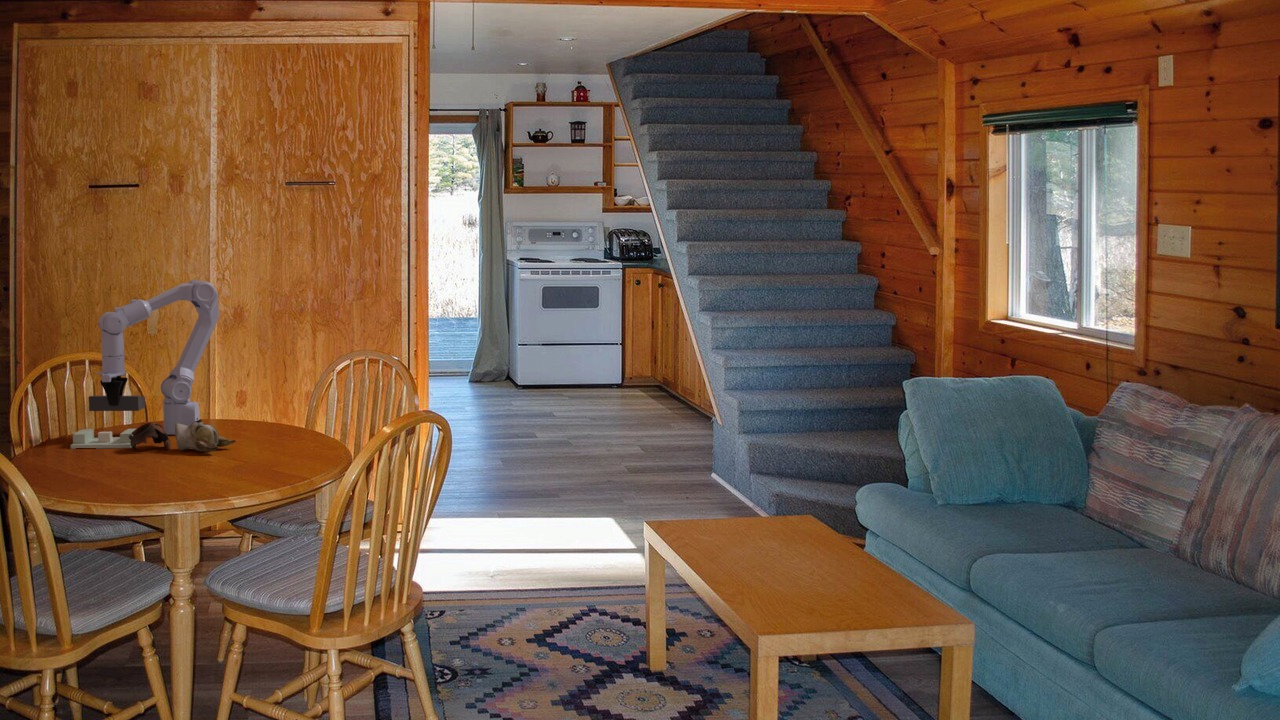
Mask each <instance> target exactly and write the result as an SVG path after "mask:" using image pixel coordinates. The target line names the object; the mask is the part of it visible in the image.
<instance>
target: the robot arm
mask: <svg viewBox="0 0 1280 720" xmlns="http://www.w3.org/2000/svg"><path fill="white" fill-rule="evenodd" d="M219 296H220V295H219V293H218V291H217V290H216V288H215V286H214V285H213V284H212V283H211V282H209V281H205V280H204V281H202V280H199V279H193V280H192V279H191V280H190V281H188V282H183V283H180V284H179V285H176V286H174V287H172V288H169V289H167V290H165V291H163V292H162V293H160V294H157V295H156V296H153V297H152V298H149V299H148V300H143V299H141V298H139V299H135V298H134V299H131V300H129V302H130V303H127V304H125V305H123V306H120V307H117V306H115V307H114V308H113V310H114V311H106V312H104V313H103V314H101V316H100V317H99V319H98V322H97V325H98V327H99V329H100V330H101V331H100V332H101V335H100V336H101V343H100V344H101V365H102V366H101V368H102V371H101V370H100V371H97V375H99V376H100V375H101V380H99V381H100V382H99V383H100V385H101V387H102V388H103V390H104V393H105V396H107V399H108V403H109V406H117V405H118V402H119V396H123V393H124V389H125V387H126V384H127V383H128V377H124V376H126V374H127V371H126V366H125V365H126V362H125V359H126V358H125V340H124V339H125V338H124V331H125V330H126V328H129V327H131V326H133V325H136V324H138V323H140V322H142V321H145V320H146V319H149V318H150V317H151V314H152V312H154V311H156V310H158V309H161V308H164V307H166V306H168V305H171V304H173V303H175V302H178V301H185V302H186V301H187V302H190V303H191V304H192V305H193V307H194V309H195V310H196V312H197V314H198V318H197V319H196V322H195V324H194V326H193V329H192V331H191V332H190V335H189V337H188V339H187V342H186V343H185V346H184V348H183V350H182V351H181V355H180V357H179V359H178V362H177V363H176V366H174V367H173V369H172V370H171V371H170V373H169V375H168V376H167V377H166V378H165V379H164V380H162V382H161V384H160V392H161V394H162V395H163V396H164V398H163V399H162V404H163V405H162V407H163V409H162V411H163V429H164V431H166V433H167V435H168V436H170V435H171V436H172V435H174V436H175V423H179V424H183V425H186V426H190V425H191V423H193V422H194V421H198V420H201V419H200V418H201V417H200V406H199V402H197V401H191V395H192V393H193V383H194V381H195V371H196V369H197V367H198V364H199V362H200V360H201V358H202V356H203V354H204V351H205V349H206V347H207V345H208V342H209V341H210V339H211V336H212V335H213V332H214V329H215V327H216V325H217V324H218V321H219V319H220V308H219ZM122 376H123V377H122Z"/></svg>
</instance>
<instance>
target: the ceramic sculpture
mask: <svg viewBox="0 0 1280 720" xmlns="http://www.w3.org/2000/svg"><path fill="white" fill-rule="evenodd" d="M174 437H175V439H176V446H177V448H178V450H179V451H187V450H189V449H192V450H195V451H197V452H201V453H203V452H204V453H211V452H213V451H217V450H219V448H221V447H223V448H224V447H228V446H230V445H233V444H234V443H235V444H236V442H237V440H234V439H231V440H229V439H227V438H225V437H224V436H221V435H219V432H218V429H216V427H215V426H214V425H212V424H205V423H204V422H203V420H202V419H200V420H198V421H194V422H193V423H191V425H190V426H186V425H183V424H179V423H175V435H174Z"/></svg>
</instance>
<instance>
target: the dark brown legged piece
mask: <svg viewBox="0 0 1280 720" xmlns="http://www.w3.org/2000/svg"><path fill="white" fill-rule="evenodd" d="M135 429H136V430H134V431H133V432H132V433H131V434H132V435H133V436H132V435H131V434H130V436H129V439H130V440H131V442H130V445H131V446H132V447H131V449H132V450H136V448H137V446H138V445H140V444H143V443H144V444H147V443H148V441H147V440H148V439H147V437H150V438H152V440H153V442H154V444H162V443H163V447H165V448H166V451H170V450H171V448H172V444H171V440H170V437H169V435H167V433H166V431H164V426H163V425H162V424H159V423H154V422H153V421H149V422H147V423H146V422H145V423H143V424H141V425H140V426H139V427H136V428H135Z"/></svg>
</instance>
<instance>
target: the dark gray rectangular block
mask: <svg viewBox="0 0 1280 720" xmlns="http://www.w3.org/2000/svg"><path fill="white" fill-rule="evenodd" d="M144 408H146V396H143V395H142V396H141V395H122V396H119V402H118V405H117V406H109V403H108V399H107V396H106V395H89V396H88V411H89V412H139V411H141V410H142V409H144Z"/></svg>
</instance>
